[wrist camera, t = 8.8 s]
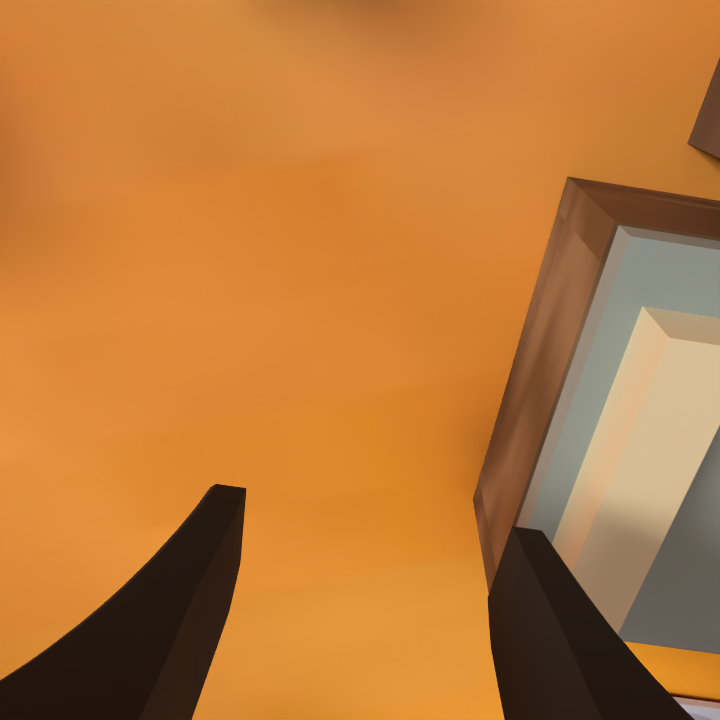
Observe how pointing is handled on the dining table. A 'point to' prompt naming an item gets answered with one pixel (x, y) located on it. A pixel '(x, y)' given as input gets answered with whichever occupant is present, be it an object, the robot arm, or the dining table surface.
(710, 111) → the block
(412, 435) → the dining table surface
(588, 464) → the lid
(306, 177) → the dining table surface
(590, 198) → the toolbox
